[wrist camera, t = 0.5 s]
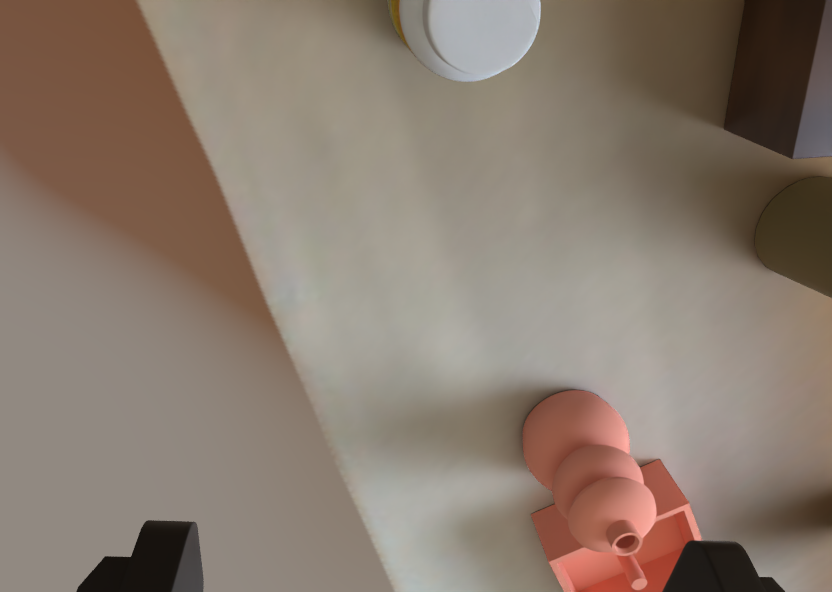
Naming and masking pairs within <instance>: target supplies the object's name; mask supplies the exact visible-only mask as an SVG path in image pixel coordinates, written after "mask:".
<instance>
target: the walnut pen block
mask: <svg viewBox="0 0 832 592" xmlns="http://www.w3.org/2000/svg"><path fill="white" fill-rule="evenodd" d="M724 130H727V131H729V132H731V133H734V134H736V135H738V136H740V137H743V138H745V139H747V140H750V141H752V142H754V143H756V144H759V145H761V146H763V147H766V148H768V149H770V150H772V151H775V152H777V153H779V154H782V155H784V156H786V157H788V158H791V159H801V158H815V157H830V156H832V0H745V6H744V12H743V18H742V24H741V30H740V36H739V42H738V48H737V54H736V60H735V66H734V72H733V78H732V84H731V90H730V96H729V102H728V108H727V114H726V120H725V126H724Z"/></svg>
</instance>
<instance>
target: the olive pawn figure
mask: <svg viewBox="0 0 832 592" xmlns="http://www.w3.org/2000/svg"><path fill="white" fill-rule="evenodd" d="M755 247H756V251H757V255H758V257H759V259H760V260H761V261H762V263H763V264H764V265H765V266H766V267H767V268H769V269H771V270H773V271H774V272H776V273H778V274H780V275H783V276H785V277H787V278H789V279H791V280H794V281H796V282H798V283H800V284H802V285H805V286H807V287H809V288H811V289H813V290H815V291H818V292H820V293H822V294H824V295H826V296H829V297H831V298H832V178H826V177H820V176H819V177H813V178H807V179H803V180H801V181H799V182H796V183H794V184H792V185H790V186H788V187H787V188H785V189H784V190H783V191H782V192H780V193H779V194H778V195H777V196H776V197H774V198H773V199H772V201H771V202H770V203H769V205H768V206H767V207H766V209H765V210H764V211H763V213H762V215H761V218H760V220H759V222H758V225H757V227H756V234H755Z"/></svg>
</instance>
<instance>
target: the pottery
mask: <svg viewBox="0 0 832 592" xmlns="http://www.w3.org/2000/svg"><path fill="white" fill-rule="evenodd" d="M522 437H523V452H524V458H525V461H526V464H527V466H528V468H529V470H530V472H531V473H532V474H533V476H534V477H535V478H536V479H537V480H538V482H540V483H541V484H542V485H544V486H545V487H546V488H548V489H549V490H551V491H552V494H553V499H554V503H555V504H554V505H551V506H549V507H547V508H544V509H542V510H540V511H537V512H535V513H533V514H531V516H532V519H533V522H534V524H535V527H536V530H537V533H538V535H539V538H540V541H541V543H542V546H543V549H544V551H545V554H546V557H547V559H548V562H549V564H550V566H551V568H552V570H553V572H554V574H555V576H556V577H557V579H558V581H559V583H560V585H561V587H562V589H563V591H564V592H662V591H663V589H664V587H665V585H666V583H667V581H668V579H669V577H670V575H671V573H672V571H673V569H674V567H675V565H676V563H677V561H678V559H679V557H680V554H681V552H682V550H683V548H684V546H685V545H686V543H687V542H689V541H691V540H700V541H702V538H701V535H700V532H699V530H698V527H697V524H696V521H695V518H694V515H693V513H692V510H691V507H690V504H689V502H688V501H687V499H686V498H685V496H684V495H683V493H682V492H681V490H680V489H679V487H678V486H677V484H676V483H675V481H674V480H673V478H672V477H671V475H670V474H669V472H668V471H667V469H666V468H665V466H664V465H663V463H662V462H661V460H660V459H659V460H656V461H654V462H652V463H649V464H647V465H645V466H642V467H639V466H638V464H637V463H636V462H635V460H634V459H633V458H632V457H631V456H630V455H629V451H630V440H629V433H628V430H627V427H626V425H625V422H624V421H623V419H622V418H621V416H620V415H619V414H618V412H617V411H616V410H615V409H614V408H612V407H611V406H610V405H609V404H608V403H606V402H605V401H604V400H602V399H601V398H600V397H599V396H597V395H595V394H593V393H590V392H587V391H581V390H570V391H564V392H560V393H557V394H554V395H552V396H550V397H548V398H546V399H545V400H543V401H542V402H540V403H539V404H538V405H537V406H536V407H535V408H534V409H533V410H532V411H531V412H530V414H529V415H528V417H527V419H526V421H525V424H524V427H523V436H522Z"/></svg>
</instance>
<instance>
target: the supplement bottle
mask: <svg viewBox="0 0 832 592" xmlns="http://www.w3.org/2000/svg"><path fill="white" fill-rule="evenodd" d="M388 9H389V14H390V18H391V21H392V24H393V26H394V28H395V30H396V32H397V34H398V35H399V37H400V38H401V39H402V41H403V42H404V43H405V44H406V45H407V47H408V48H409V49H410V50H411V52H412V53H413V54H414V56H415V57H416V58H417V59H418V60H419V61H420V62H421V63H422V64H423V65H424V66H425V67H427V68H428V69H429V70H431V71H432V72H434V73H435V74H437V75H439V76H442V77H444V78H447V79H450V80H455V81H466V82H470V81H478V80H483V79H486V78H489V77H492V76H494V75H496V74H498V73H500V72H502V71H504V70H506V69H508V68H510V67H511V66H513V65H514V64H515V63H517V62H518V61H519V60H520V59H521V58H522V57H523V56H524V55H525V54H526V52H527V51H528V50H529V48H530V46H531V45H532V43H533V41H534V39H535V36H536V34H537V31H538V27H539V23H540V15H541V6H540V0H388Z"/></svg>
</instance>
